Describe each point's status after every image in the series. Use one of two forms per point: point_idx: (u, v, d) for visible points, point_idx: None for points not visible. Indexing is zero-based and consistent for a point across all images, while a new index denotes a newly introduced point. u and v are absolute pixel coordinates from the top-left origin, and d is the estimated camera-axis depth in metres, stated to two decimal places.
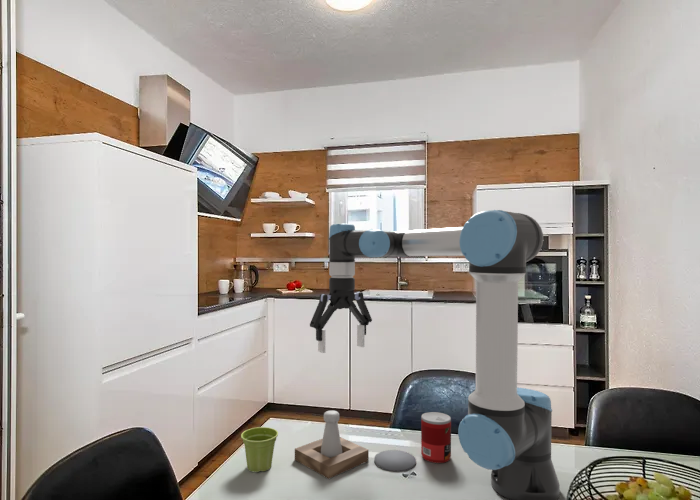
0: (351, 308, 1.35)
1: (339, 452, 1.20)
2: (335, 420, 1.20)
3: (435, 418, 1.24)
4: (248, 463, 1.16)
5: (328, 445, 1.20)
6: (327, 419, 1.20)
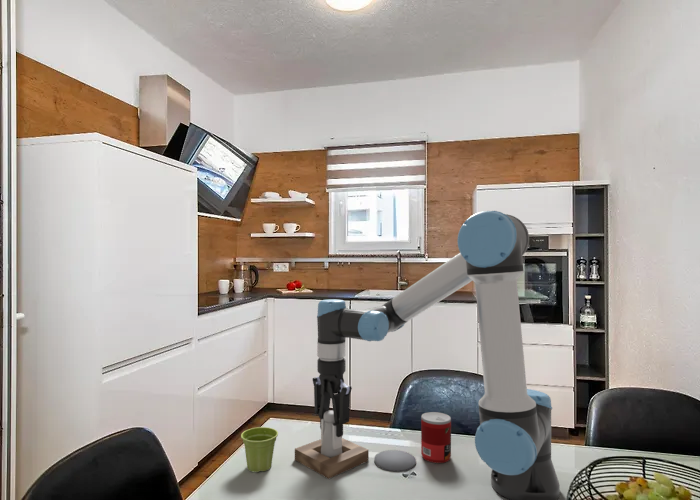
0: None
1: (339, 452, 1.20)
2: None
3: (435, 418, 1.24)
4: (248, 463, 1.16)
5: (328, 445, 1.20)
6: (327, 419, 1.20)
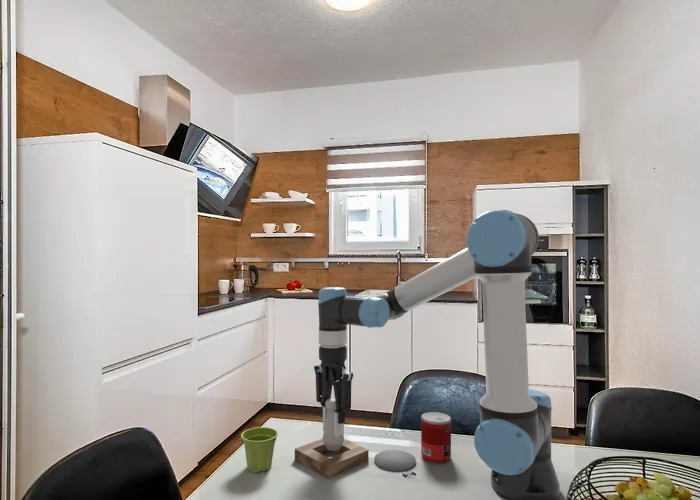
0: None
1: (341, 439, 1.21)
2: None
3: (435, 418, 1.24)
4: (248, 463, 1.16)
5: (330, 432, 1.20)
6: (329, 406, 1.21)
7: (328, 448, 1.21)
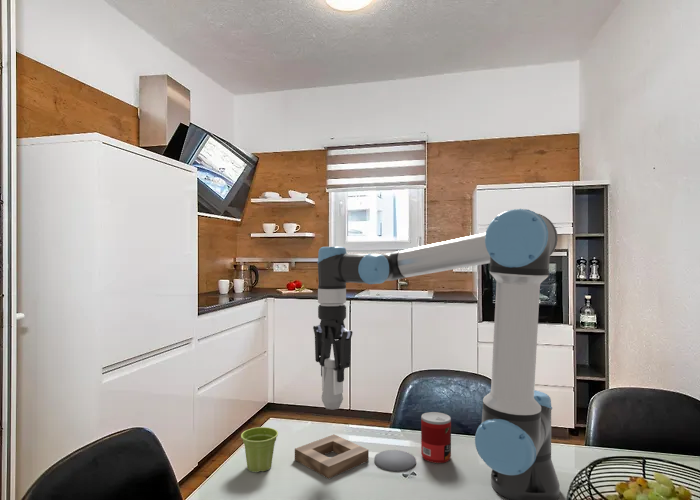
0: None
1: (340, 398, 1.20)
2: None
3: (435, 418, 1.24)
4: (248, 463, 1.16)
5: (329, 391, 1.20)
6: (328, 365, 1.20)
7: (327, 407, 1.20)
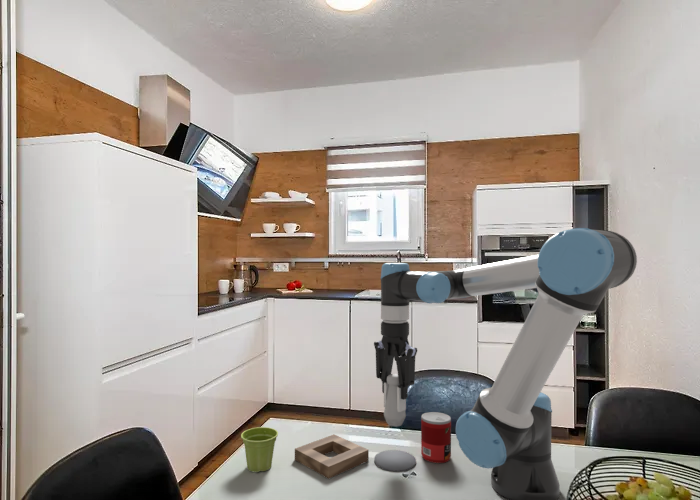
0: None
1: (403, 415, 1.20)
2: None
3: (435, 418, 1.24)
4: (248, 463, 1.16)
5: (393, 407, 1.19)
6: (391, 381, 1.20)
7: (390, 423, 1.20)
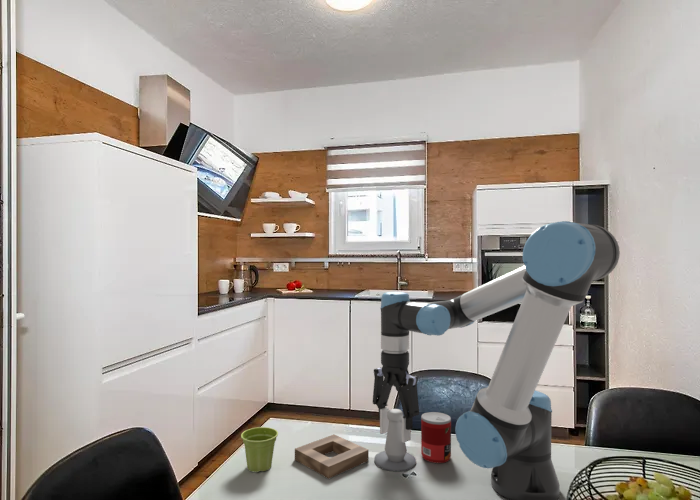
0: None
1: (404, 450, 1.20)
2: (400, 418, 1.20)
3: (435, 418, 1.24)
4: (248, 463, 1.16)
5: (394, 444, 1.19)
6: (392, 418, 1.20)
7: (391, 459, 1.20)
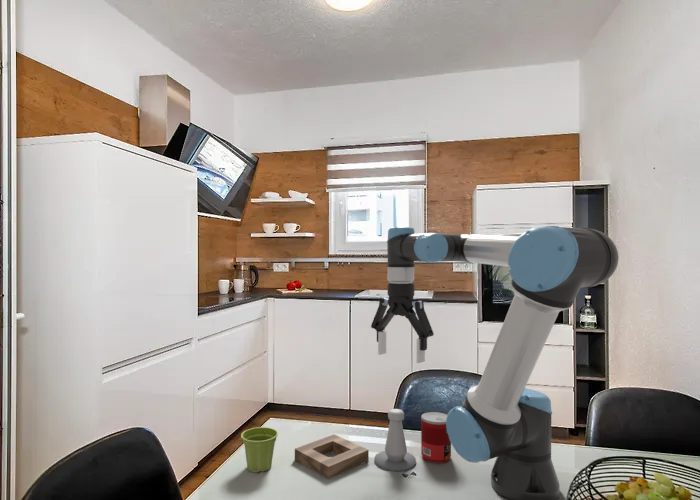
0: None
1: (404, 451, 1.20)
2: (400, 418, 1.20)
3: (435, 418, 1.24)
4: (248, 463, 1.16)
5: (394, 444, 1.19)
6: (392, 417, 1.20)
7: (391, 459, 1.20)
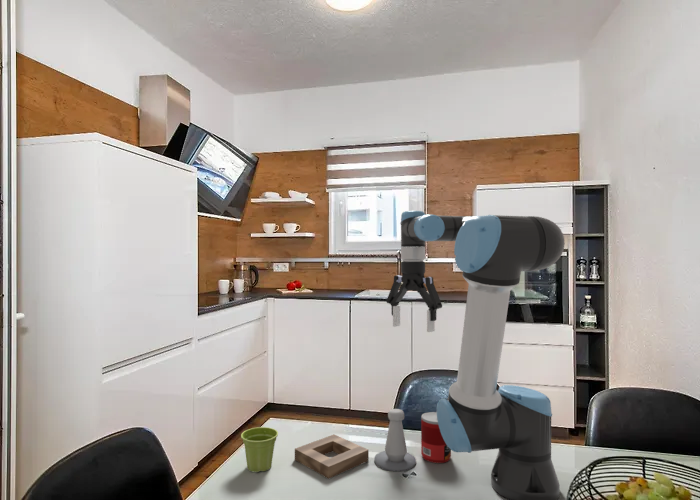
0: None
1: (404, 451, 1.20)
2: (401, 418, 1.20)
3: (435, 418, 1.24)
4: (248, 463, 1.16)
5: (394, 444, 1.19)
6: (393, 417, 1.20)
7: (391, 459, 1.20)
